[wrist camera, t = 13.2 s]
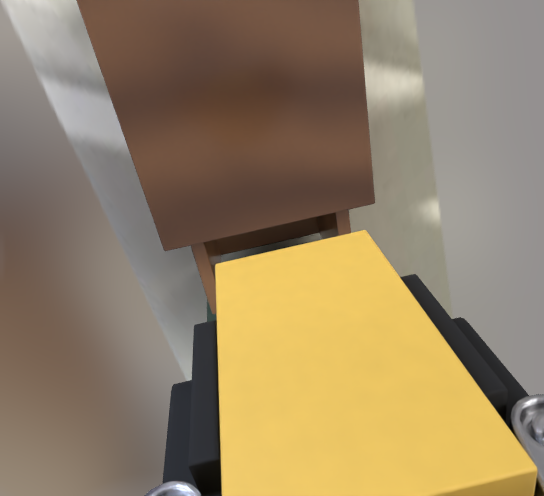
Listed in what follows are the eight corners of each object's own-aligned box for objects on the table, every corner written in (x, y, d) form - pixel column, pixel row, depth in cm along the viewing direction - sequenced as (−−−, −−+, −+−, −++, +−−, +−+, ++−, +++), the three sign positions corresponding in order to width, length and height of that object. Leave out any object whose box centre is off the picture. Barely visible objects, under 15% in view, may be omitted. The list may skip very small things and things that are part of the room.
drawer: (345, 307, 41) (377, 377, 33) (227, 334, 41) (232, 411, 33) (315, 82, 31) (351, 108, 24) (160, 116, 31) (146, 153, 23)
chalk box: (214, 263, 12) (222, 545, 6) (365, 228, 12) (540, 468, 6) (250, 386, 14) (284, 689, 8) (378, 356, 14) (516, 633, 8)
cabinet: (330, 150, 35) (375, 204, 26) (175, 185, 35) (164, 251, 25) (301, -79, 28) (349, -121, 18) (106, -38, 27) (55, -59, 18)
